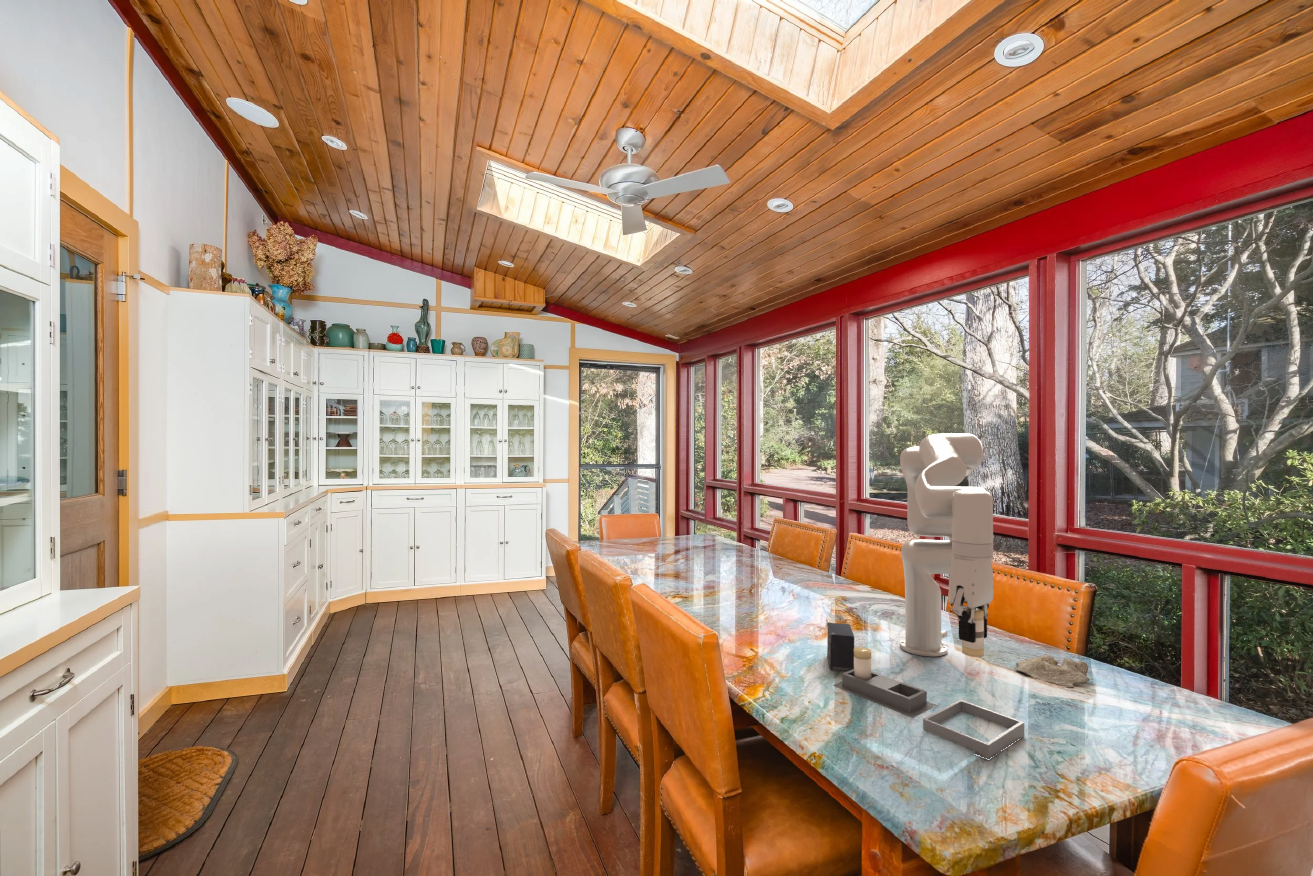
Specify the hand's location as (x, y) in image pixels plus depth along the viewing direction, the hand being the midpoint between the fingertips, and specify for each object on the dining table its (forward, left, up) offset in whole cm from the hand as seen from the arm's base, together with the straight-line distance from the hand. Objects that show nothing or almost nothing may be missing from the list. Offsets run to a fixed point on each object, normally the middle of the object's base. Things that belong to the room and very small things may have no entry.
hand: (972, 637), depth 123 cm
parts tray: (0, 0, -20) cm, 20 cm away
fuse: (0, -27, -19) cm, 33 cm away
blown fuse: (0, 0, -3) cm, 3 cm away
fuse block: (0, -21, -20) cm, 29 cm away
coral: (-48, -4, -21) cm, 52 cm away
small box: (-8, -39, -20) cm, 45 cm away
